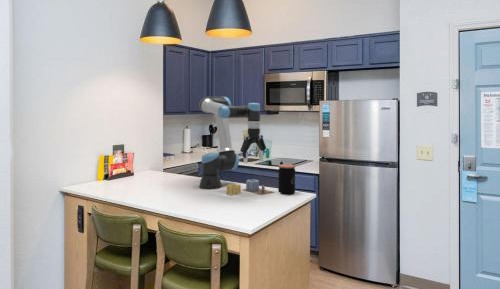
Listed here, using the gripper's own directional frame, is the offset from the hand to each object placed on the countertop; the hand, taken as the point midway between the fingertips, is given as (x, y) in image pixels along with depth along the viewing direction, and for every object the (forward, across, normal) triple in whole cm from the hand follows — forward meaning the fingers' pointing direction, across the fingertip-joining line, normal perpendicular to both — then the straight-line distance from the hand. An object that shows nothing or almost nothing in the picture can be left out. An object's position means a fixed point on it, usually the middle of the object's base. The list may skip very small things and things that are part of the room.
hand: (253, 161), depth 228 cm
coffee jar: (+21, +20, -11) cm, 31 cm away
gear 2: (+20, +7, +8) cm, 23 cm away
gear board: (+21, +7, +3) cm, 23 cm away
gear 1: (+21, -8, +10) cm, 25 cm away
